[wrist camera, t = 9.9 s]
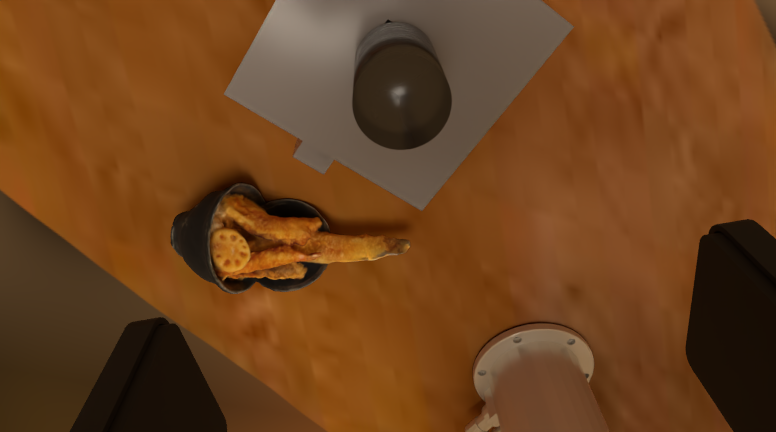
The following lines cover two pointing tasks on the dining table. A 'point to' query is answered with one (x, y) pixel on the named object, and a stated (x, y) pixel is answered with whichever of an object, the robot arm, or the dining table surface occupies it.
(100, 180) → the dining table surface
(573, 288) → the dining table surface
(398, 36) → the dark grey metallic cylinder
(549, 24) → the white grey-topped cylinder
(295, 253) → the fried shrimp in bowl
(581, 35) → the dining table surface
